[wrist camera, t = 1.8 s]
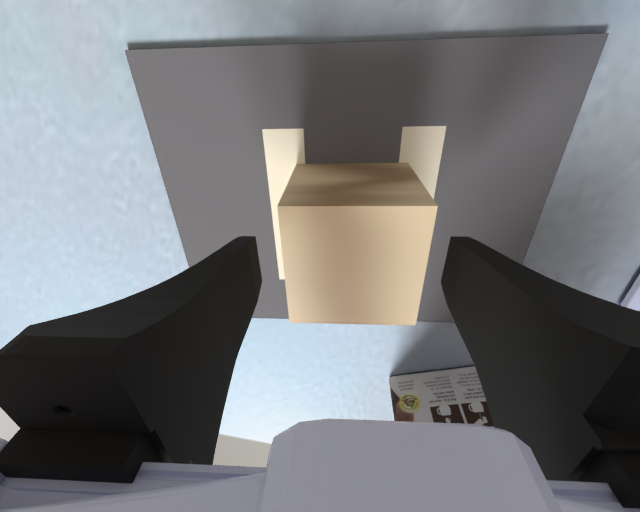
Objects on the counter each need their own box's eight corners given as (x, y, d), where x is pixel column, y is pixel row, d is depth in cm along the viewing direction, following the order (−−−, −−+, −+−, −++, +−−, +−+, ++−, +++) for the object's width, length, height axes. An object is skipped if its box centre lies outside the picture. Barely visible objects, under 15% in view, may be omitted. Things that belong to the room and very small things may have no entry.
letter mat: (604, 33, 11) (608, 33, 11) (498, 320, 18) (499, 323, 18) (127, 50, 12) (124, 49, 12) (205, 314, 20) (203, 316, 19)
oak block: (408, 162, 14) (437, 205, 10) (396, 257, 16) (415, 325, 12) (296, 163, 14) (277, 206, 10) (302, 257, 17) (289, 322, 12)
